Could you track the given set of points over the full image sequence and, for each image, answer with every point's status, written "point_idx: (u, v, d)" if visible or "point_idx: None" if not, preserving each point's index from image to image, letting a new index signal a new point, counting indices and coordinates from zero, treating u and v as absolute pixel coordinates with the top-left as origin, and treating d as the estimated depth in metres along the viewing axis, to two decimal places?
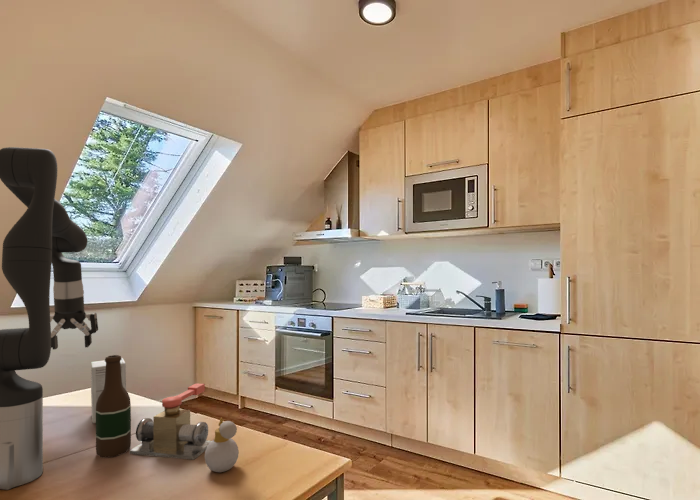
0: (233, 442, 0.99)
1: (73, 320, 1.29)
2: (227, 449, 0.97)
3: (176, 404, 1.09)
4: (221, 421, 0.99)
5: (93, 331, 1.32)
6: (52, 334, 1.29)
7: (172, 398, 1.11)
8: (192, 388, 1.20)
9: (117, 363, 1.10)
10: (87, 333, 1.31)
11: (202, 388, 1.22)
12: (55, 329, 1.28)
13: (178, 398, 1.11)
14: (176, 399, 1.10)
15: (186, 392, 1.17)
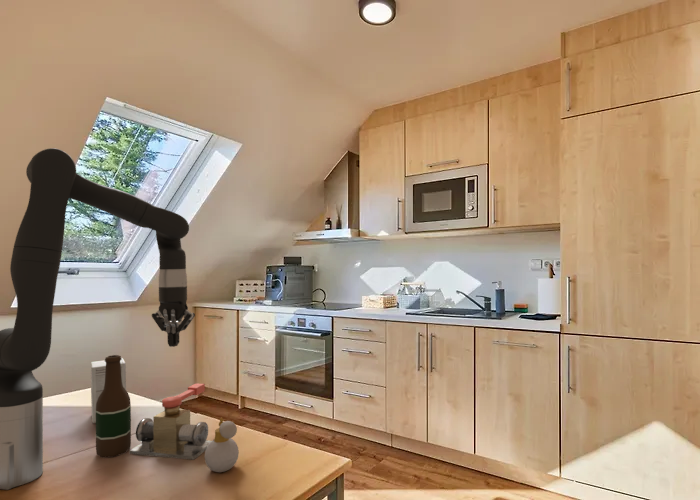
0: (233, 442, 0.99)
1: (173, 312, 1.22)
2: (227, 449, 0.97)
3: (176, 404, 1.09)
4: (221, 421, 0.99)
5: (178, 329, 1.22)
6: (168, 329, 1.23)
7: (172, 398, 1.11)
8: (192, 388, 1.20)
9: (117, 363, 1.10)
10: (173, 331, 1.22)
11: (202, 388, 1.22)
12: (166, 323, 1.22)
13: (178, 398, 1.11)
14: (176, 399, 1.10)
15: (186, 392, 1.17)
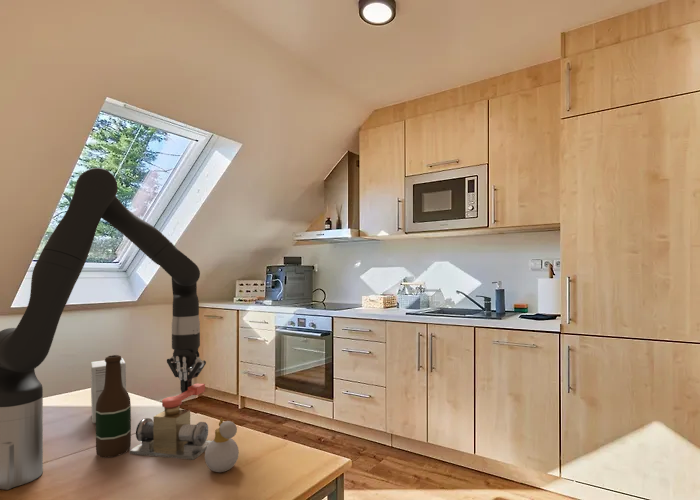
0: (233, 442, 0.99)
1: (184, 359, 1.21)
2: (227, 449, 0.97)
3: (176, 404, 1.09)
4: (221, 421, 0.99)
5: (189, 377, 1.21)
6: (180, 376, 1.22)
7: (172, 398, 1.11)
8: (192, 388, 1.20)
9: (117, 363, 1.10)
10: (185, 378, 1.21)
11: (203, 388, 1.22)
12: (178, 370, 1.22)
13: (178, 398, 1.11)
14: (176, 399, 1.10)
15: (186, 392, 1.17)
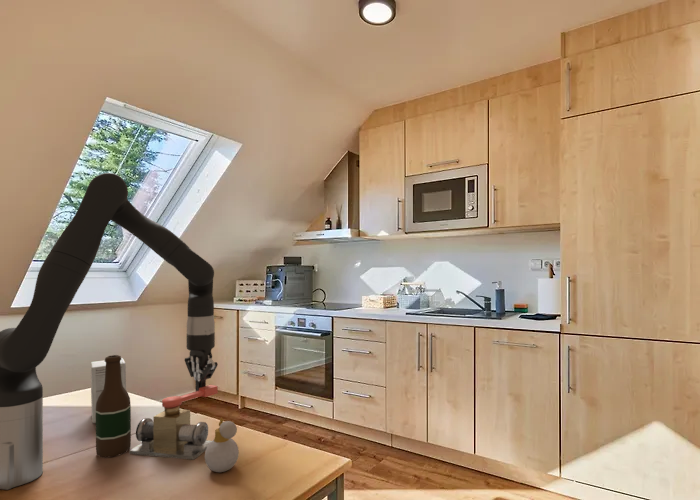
0: (233, 442, 0.99)
1: (197, 360, 1.20)
2: (227, 449, 0.97)
3: (172, 405, 1.09)
4: (221, 421, 0.99)
5: (202, 378, 1.19)
6: (195, 376, 1.21)
7: (173, 398, 1.11)
8: (202, 389, 1.18)
9: (117, 363, 1.10)
10: (198, 378, 1.20)
11: (214, 390, 1.20)
12: (193, 370, 1.21)
13: (177, 399, 1.11)
14: (174, 400, 1.10)
15: (193, 393, 1.16)
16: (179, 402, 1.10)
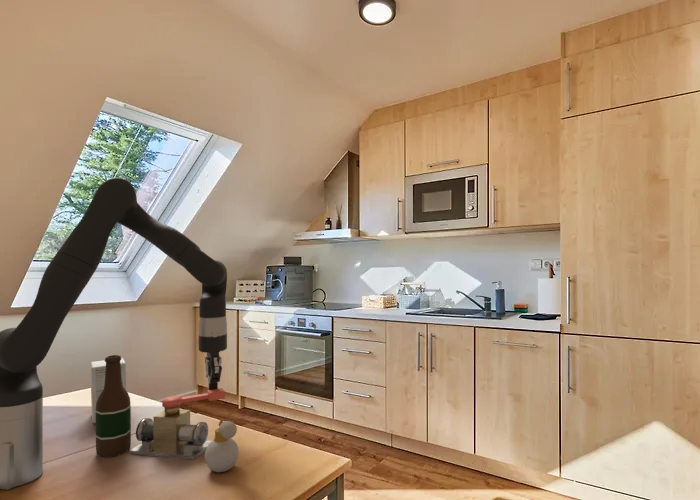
0: (233, 442, 0.99)
1: (206, 361, 1.17)
2: (227, 449, 0.97)
3: (168, 405, 1.09)
4: (221, 421, 0.99)
5: (209, 380, 1.17)
6: (208, 378, 1.20)
7: (173, 398, 1.11)
8: (208, 392, 1.15)
9: (117, 363, 1.10)
10: (208, 381, 1.18)
11: (221, 395, 1.16)
12: (206, 371, 1.20)
13: (175, 400, 1.10)
14: (172, 400, 1.10)
15: (197, 395, 1.14)
16: (176, 403, 1.09)
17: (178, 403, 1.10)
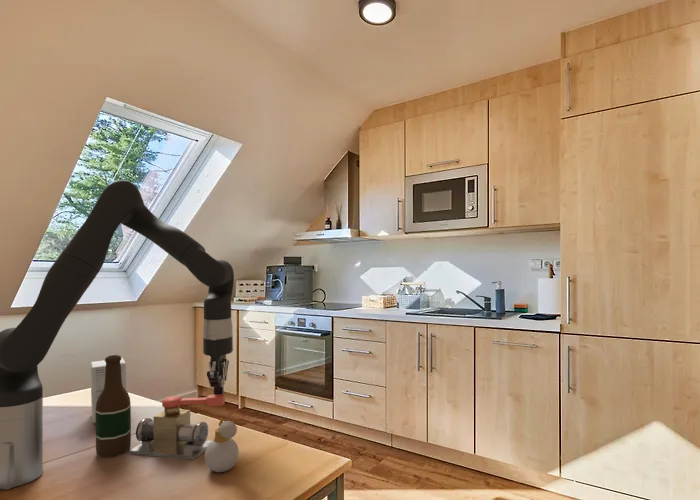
0: (233, 442, 0.99)
1: None
2: (227, 449, 0.97)
3: (164, 405, 1.09)
4: (221, 421, 0.99)
5: None
6: None
7: (173, 398, 1.11)
8: (208, 397, 1.12)
9: (117, 363, 1.10)
10: None
11: (218, 401, 1.10)
12: None
13: (172, 400, 1.10)
14: (169, 400, 1.10)
15: (196, 398, 1.11)
16: (171, 404, 1.09)
17: (174, 404, 1.09)
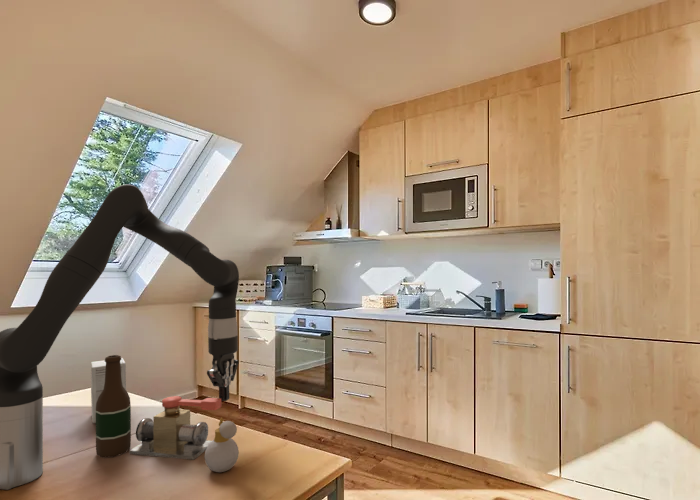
0: (233, 442, 0.99)
1: None
2: (227, 449, 0.97)
3: (163, 405, 1.09)
4: (221, 421, 0.99)
5: None
6: None
7: (173, 398, 1.11)
8: None
9: (117, 363, 1.10)
10: None
11: (212, 405, 1.07)
12: None
13: (170, 400, 1.09)
14: (168, 400, 1.10)
15: (193, 401, 1.10)
16: (169, 404, 1.09)
17: (172, 405, 1.09)
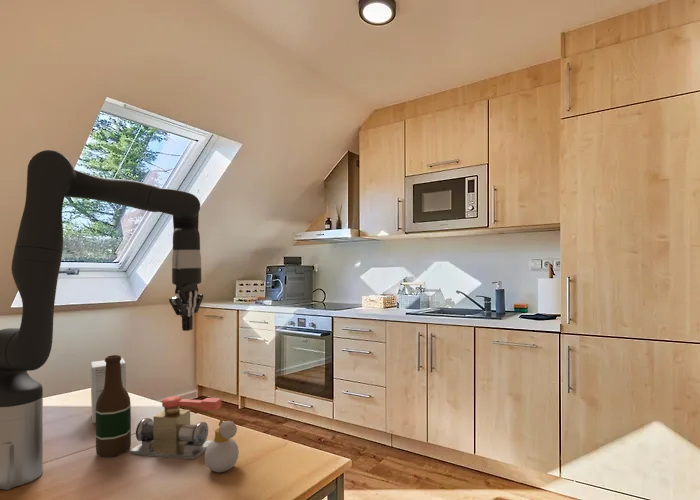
0: (233, 442, 0.99)
1: None
2: (227, 449, 0.97)
3: (163, 405, 1.09)
4: (221, 421, 0.99)
5: None
6: None
7: (173, 398, 1.11)
8: None
9: (117, 363, 1.10)
10: None
11: (212, 405, 1.07)
12: None
13: (170, 400, 1.09)
14: (168, 400, 1.10)
15: (193, 401, 1.10)
16: (169, 404, 1.09)
17: (172, 405, 1.09)
